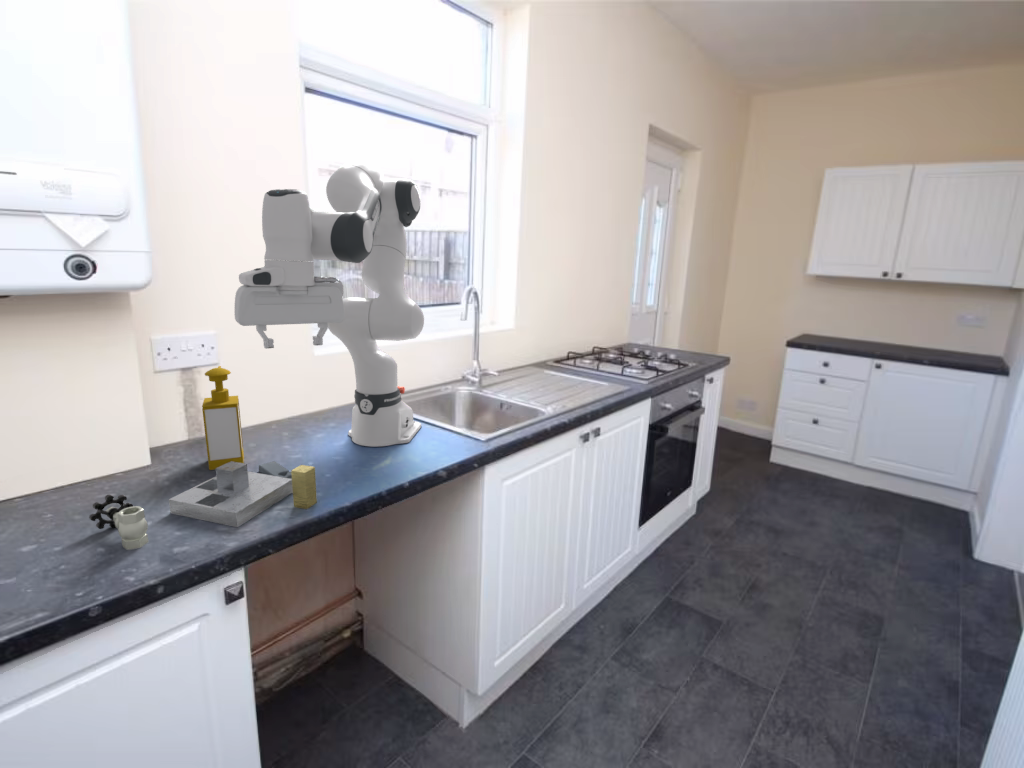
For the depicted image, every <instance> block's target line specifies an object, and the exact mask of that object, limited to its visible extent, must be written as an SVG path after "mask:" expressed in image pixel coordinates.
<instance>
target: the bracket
mask: <svg viewBox="0 0 1024 768" xmlns="http://www.w3.org/2000/svg"><path fill="white" fill-rule="evenodd" d="M258 471H259V472H258V473H260V474H266V475H272V476H277V477H283V478H289V479H292V475H291V471H290V470H289V469H287V468H286V467H284V466H282V465H281V464H280V463H278V462H277V461H275V460H274V461H270V462H265V463H262V464H259V465H258Z"/></svg>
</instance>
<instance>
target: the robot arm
mask: <svg viewBox="0 0 1024 768" xmlns="http://www.w3.org/2000/svg"><path fill="white" fill-rule="evenodd" d="M325 190H326V191H325V192H326V193H325V194H326V197H327V201H328V203H329V205H330V206H331V208H332V209H333V210H334V211H333V212H332V211H330V212H329V211H325V212H324V211H314V210H313V208H311V206H310V201H309V198H308V195H307V193H306V191H304V190H300V189H291V188H288V189H286V188H284V189H280V188H279V189H271V190H268V191H267V192H265V193H264V196H263V200H262V209H261V210H262V213H261V214H262V215H261V226H262V238H263V240H264V244H265V253H264V258H263V259H264V266H263V267H257V268H254V269H251V270H248V271H243V272H241V273H240V274H239V275H238V281H239V283H240V284H241V286H240V287H238V288H237V290H236V292H235V297H234V320H235V322H237V324H238V325H240V326H243V327H245V326H246V327H248V326H249V327H251V326H255V328H256V332H257V333H258V334H259V336H260V337H261V339H262V343H263V347H264V349H274V348H275V345H274V343H275V341H274V338H272V337H271V338H269V337H268V335H267V334H266V333H265V332H267V328H268V327H267V326H275V325H277V326H278V325H281V326H283V325H304V324H305V325H306V324H308V325H309V324H317V328H319V330H318V332H317V334H316V335H313V336H312V344H313V346H323V345H324V343H323V342H324V339H323V338H324V336H325V334H326V332H327V331H328V330H329V331H330V333H331V334H332V335H333V336H335V337H336V338H337V339H339V340H340V341H341V342H342V343H343V344H344V346H345V347H346V349H347V350H348V352H349V354H350V356H351V359H352V362H353V367H354V374H355V388H356V389H355V390H354V403H355V405H354V406H353V407H352V411H351V413H352V414H351V427H350V429H349V430H348V432H347V433H348V436H349V437H351V441H352V442H353V443H355V444H356V445H359V446H363V447H364V446H365V447H376V448H377V447H386V446H393V445H399V444H408V443H410V442H411V441H412V439H413V438H414V437H415V435H416V434H417V433H418V431H420V430H421V428H422V423H421V422H419V421H416V420H414V410H413V409H412V407H411V406H409V405H408V404H407V403H406V402H404V401H403V400H402V394H405V392H406V388H405V386H399V384H398V383H399V382H398V380H399V379H398V363H397V361H396V360H395V358H394V357H393V356H391V355H390V354H389V353H387V352H385V351H383V350H382V349H381V348H380V346H378V344H377V342H376V341H393V342H395V341H399V342H401V341H407V340H412V339H416V338H417V337H419V335H420V334H421V332H422V330H423V328H424V324H425V317H424V316H425V315H424V312H423V311H422V308H421V307H420V305H419V304H418V303H416V302H415V300H413V299H412V298H410V296H409V295H408V293H407V291H406V289H405V285H404V277H405V276H404V275H405V267H406V260H407V246H408V245H407V233H406V230H405V228H407V227H410V226H411V225H412V223H413V221H414V220H415V219H416V218H417V217H418V214H419V213H420V209H421V200H422V199H421V195H420V190H419V188H418V185H417V184H416V182H414V181H413V180H411V179H407V178H401V177H399V178H384V173H383V171H382V169H381V167H380V166H379V164H378V163H377V162H375V161H374V160H372V159H370V158H368V157H357V158H354V159H352V160H349V161H348V162H345V163H344V164H343V165H341V166H340V167H339V168H337V169H336V171H334V172H333V173H332V175H330V177H329V178H328V180H327V183H326V189H325ZM315 260H318V261H339V262H346V263H355V264H360V263H362V262H363V263H362V269H361V279H362V282H363V283H364V285H365V286H366V287H367V288H369V289H370V290H371V291H372V292H374V293H376V294H378V297H374V298H373V297H354V296H353V297H351V296H349V297H344V298H343V296H344V284H343V282H342V281H341V280H340V279H338V278H336V277H335V276H315V263H314V262H315Z"/></svg>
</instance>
